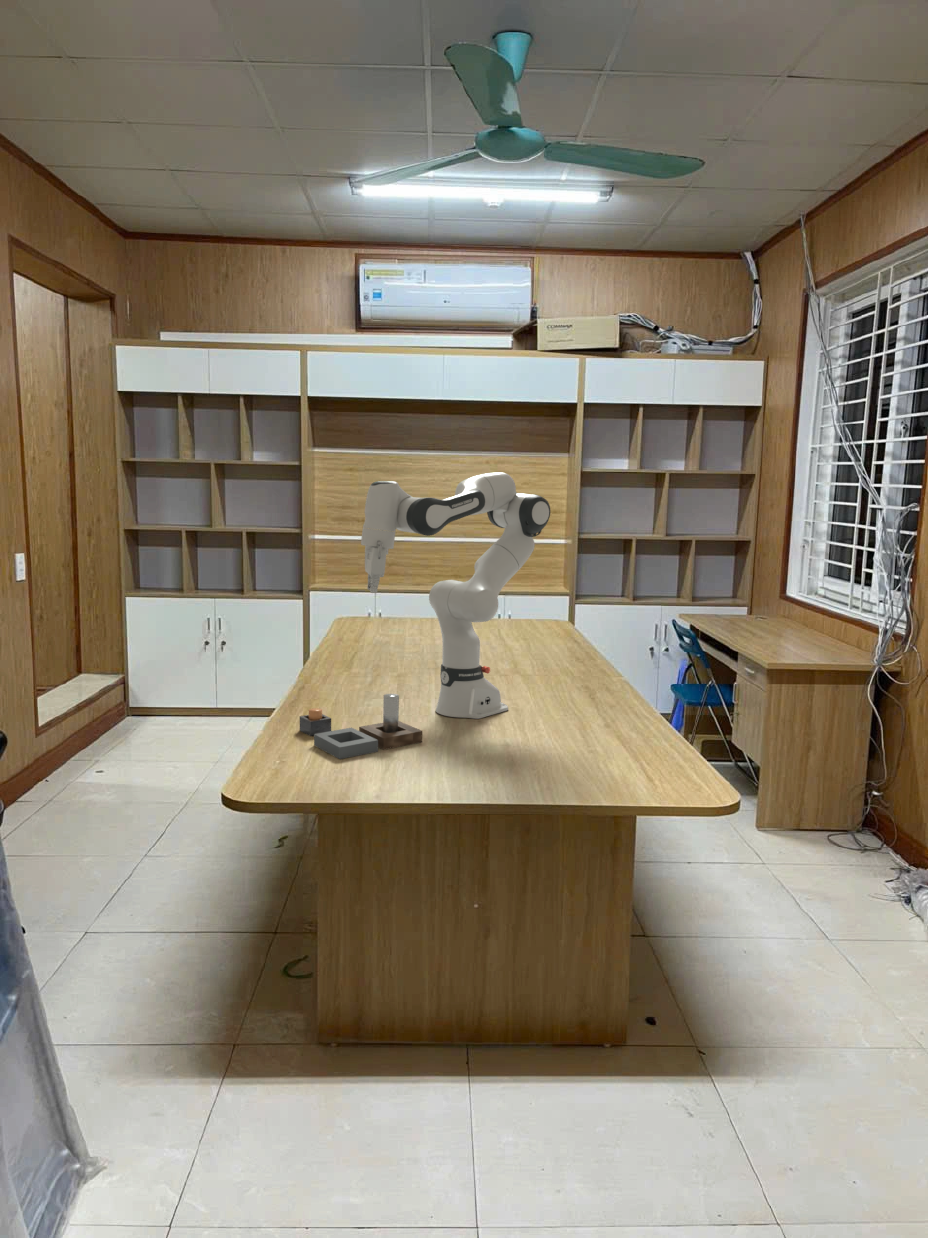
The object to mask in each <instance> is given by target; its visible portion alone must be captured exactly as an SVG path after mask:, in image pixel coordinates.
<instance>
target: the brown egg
mask: <svg viewBox="0 0 928 1238" xmlns="http://www.w3.org/2000/svg"><path fill="white" fill-rule="evenodd" d="M322 714H323V709H322V708H314V707H313V708H309V709H308V715H309V719H310V720H318V719H322Z"/></svg>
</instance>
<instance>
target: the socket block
mask: <svg viewBox="0 0 928 1238" xmlns="http://www.w3.org/2000/svg"><path fill="white" fill-rule="evenodd" d="M358 731H360V732H362V733H364V734H366V735H368V736H371V737H373V738H375V739H377V740H378V749H381V750H389V749H394V748H399V747H405V746H409V745H413V744H414V745H415V744H421V743H423V733H424V732H423V730H421V729H419V728H416V727H415V726H413V725H409V724H407V723H405V722H403V721H400V720H398V732H393V733H385V732H383V722H379V723H374V724H368V725H362V726H358Z"/></svg>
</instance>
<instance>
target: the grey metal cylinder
mask: <svg viewBox="0 0 928 1238" xmlns="http://www.w3.org/2000/svg"><path fill="white" fill-rule="evenodd" d="M399 699H400V695H399V694H396V693H386V694H384V695H383V704H382V705H383V706H382V708H383V709H382V710H383V711H382V712H383V713H382V714H383V717H382V720H383V721H382V723H383V732H385V733H393V732H398V721H399V717H400V716H399V710H400V707H399V706H400V703H399V702H400V701H399Z"/></svg>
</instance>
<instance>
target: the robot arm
mask: <svg viewBox="0 0 928 1238" xmlns="http://www.w3.org/2000/svg"><path fill="white" fill-rule="evenodd" d="M516 486H517V485H516V483H515V480H514V478H513V477H512V476H511V475H510V474H508V473H505V472H502V471H501V472H499V471H497V472H487V473H481V474H477V475H473V476H470V477H468V478H465V479H464V480H461V481H460V482H458V484H457V486H456V487H455V491H454V496H450V497H448V498H444V499H439V498H436V497H435V498H434V497H415V496H414V497H413V496H412V495H410V494H408V493H407V492H406V491H405V490H404V489H403V488H401V487H400V485H399V482H397V481H393V480H380V481H379V480H378V481H377V480H376V481H374V482H372V483H371V484H370V485H369V488H368V490H367V493H366V498H365V499H366V500H365V503H364V506H365V507H364V516H365V517H364V518H365V520H364V522H363V526H362V531H361V533H362V534H361V541H360V545H361V546H364V547H365V548H364V570H365V573H367V591H369V592H370V593H371V594H377V593H378V589H379V586H380V585H379V584H380V579H381V578H383V577H384V576H385V572H386V561H387V556H388V555H389V550H391V549H392V550H394V549H395V548H394V546H395V538H396V530H398V531H400V532H405V533H411V534H412V533H413V534H418V535H422V536H426V537H427V536H430V537H431V536H434V535H436V534H438V533H439V532H440V531H442V530H443V529H444V528H445V527H446V526H447V525H448V524H450V523H452V522H456V521H457V520H460V519H463V518H466V517H469V516H477V515H482V514H487V517H488V520H489V521H490V522H491V524H492V525H494V527H498V528H500V529H504V530H503V533H502V534H501V536H500V538H498V539H497V540H496V541H495V542H494V543H493V544H492V545H491V546H490V547H489V548H488V549H487V550H486V551H485V552H483V554H482V555H480V557H479V558H477V560H476V561H475V562H474V567H473V568H474V573H473V575H472V577H470V579H469V580H466V581H460V580H456V579H447V580H446V579H445V580H440V581H437V582H436V583H434V585H432V587H431V588H430V591H429V594H428V600H429V604H430V606H431V608H432V609H433V610H434V612H435V615H436V617H437V621H438V624H439V628H440V633H441V639H442V656H441V657H442V658H441V659H442V660H441V661H442V663H441V664H440V673H439V674H440V690H439V696H438V701H437V704H436V707H435V712H436V713H437V714H439V715H442V716H445V717H449V718H450V717H451V718H465V719H467V718H469V719H474V720H475V719H482V718H485V717H489V716H493V715H496V714H500V713H502V712H506V711H509V705H507V704H505V702H504V703H503V702H501V701H502V697H501V693H500V690H499V688H498V687H496V686H495V685H494V684H493V683H492V682H490V681H489V680H488V679H487V678H486V677H485V676H484V674H490V672H491V668H490V667H489V666H486V665H483V666H482V665H481V664H480V659H481V658H480V657H481V655H480V654H481V651H480V650H481V639H480V638H479V636H478V634H477V633H476V631H475V629H474V626H473V623H484V622H485V623H486V622H488V621H491V620H492V619H493V618H494V617H495V615H496V614H497V612H498V609H499V599H498V598H499V595H500V593H501V591H502V589H503V588H504V587H505V585H506V584H507V583H508V582H509V581H510V580H511V579H512V578H513V577H514V576H515V575H516V574H517V573H518V571H520V570H521V568H522V567H523V566H524V565H525V564H526V562H527V561H528V560H529V558H530V557H531V555H532V553H533V552H534V550H535V545H536V544H535V540H534V538H535V537H538V536H539V535H540V534H541V533H542V531H543V529H544V528H545V527H546V525H547V524H548V522H549V520H550V518H551V517H550V516H551V506H550V503H549V501H548V500H547V499H546V498H545V497H543V496H541V495H538V494H534V493H533V494H532V493H531V494H529V493H525V492H524V493H523V492H517V487H516Z"/></svg>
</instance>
